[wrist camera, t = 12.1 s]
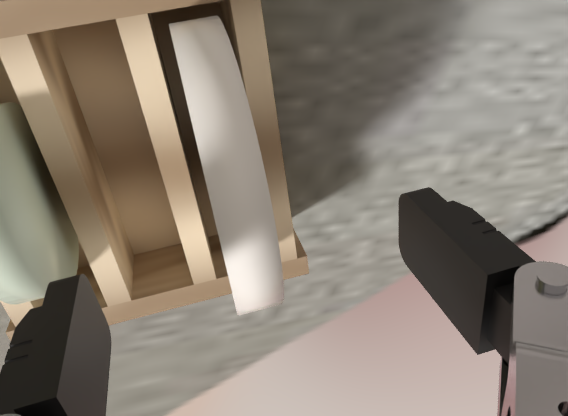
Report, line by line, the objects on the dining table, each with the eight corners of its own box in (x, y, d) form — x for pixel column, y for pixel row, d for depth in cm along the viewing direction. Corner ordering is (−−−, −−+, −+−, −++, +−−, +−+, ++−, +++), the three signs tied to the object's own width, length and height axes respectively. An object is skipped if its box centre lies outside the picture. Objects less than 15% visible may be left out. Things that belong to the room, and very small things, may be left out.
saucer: (53, 236, 22) (16, 346, 16) (-16, 87, 18) (-97, 158, 12) (86, 228, 22) (62, 335, 16) (25, 79, 18) (-36, 146, 12)
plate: (218, 230, 23) (253, 381, 15) (166, 13, 19) (172, 43, 10) (247, 223, 23) (300, 367, 15) (204, 7, 19) (241, 30, 10)
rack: (-102, 9, 17) (-178, 29, 13) (244, -46, 19) (268, -42, 15) (38, 281, 24) (16, 349, 20) (284, 222, 26) (309, 273, 22)
